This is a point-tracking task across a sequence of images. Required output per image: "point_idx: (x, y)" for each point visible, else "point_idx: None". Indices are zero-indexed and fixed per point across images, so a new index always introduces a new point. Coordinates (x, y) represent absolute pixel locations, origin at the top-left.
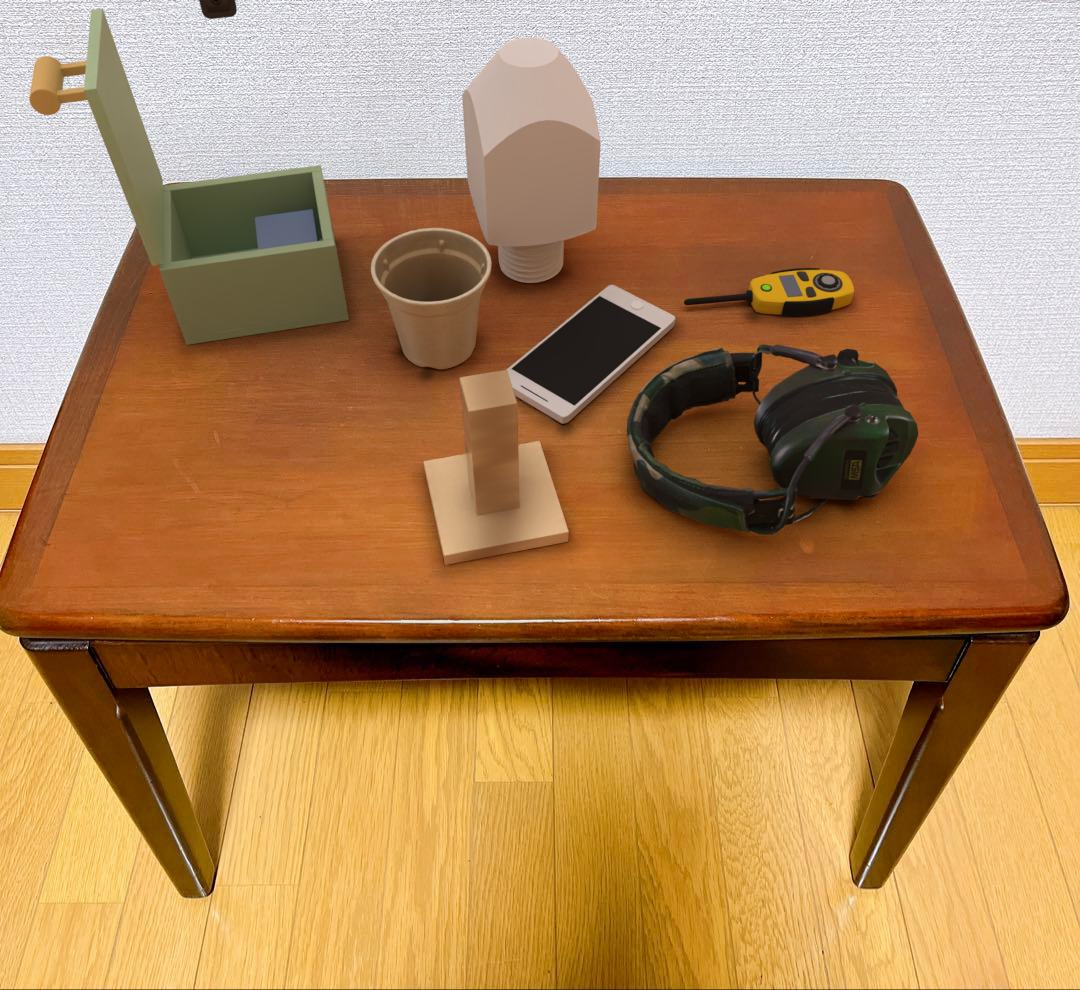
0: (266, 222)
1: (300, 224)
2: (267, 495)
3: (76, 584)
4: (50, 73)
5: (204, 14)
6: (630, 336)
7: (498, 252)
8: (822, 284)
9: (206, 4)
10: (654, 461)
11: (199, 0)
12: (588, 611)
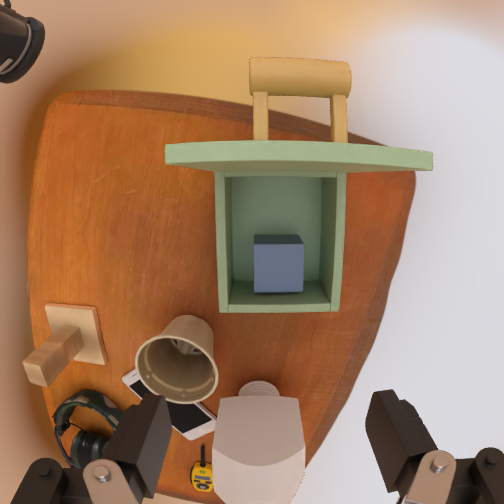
0: (293, 253)
1: (283, 281)
2: (86, 221)
3: (55, 125)
4: (301, 81)
5: (146, 395)
6: (177, 421)
7: (263, 385)
8: (200, 485)
9: (123, 415)
10: (71, 404)
11: (138, 409)
12: (36, 347)
